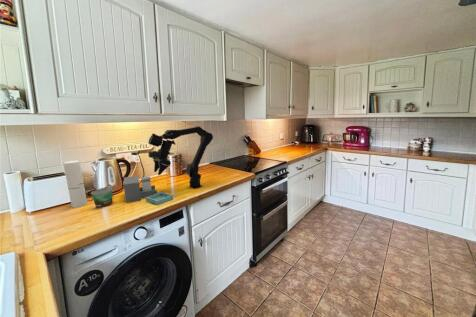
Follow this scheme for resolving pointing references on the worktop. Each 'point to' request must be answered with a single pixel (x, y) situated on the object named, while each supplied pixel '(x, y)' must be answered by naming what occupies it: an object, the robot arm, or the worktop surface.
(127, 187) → the coffee machine bay
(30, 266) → the worktop surface
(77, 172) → the grey rectangular column
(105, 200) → the food container
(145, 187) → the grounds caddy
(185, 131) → the robot arm
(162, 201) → the teal tray
